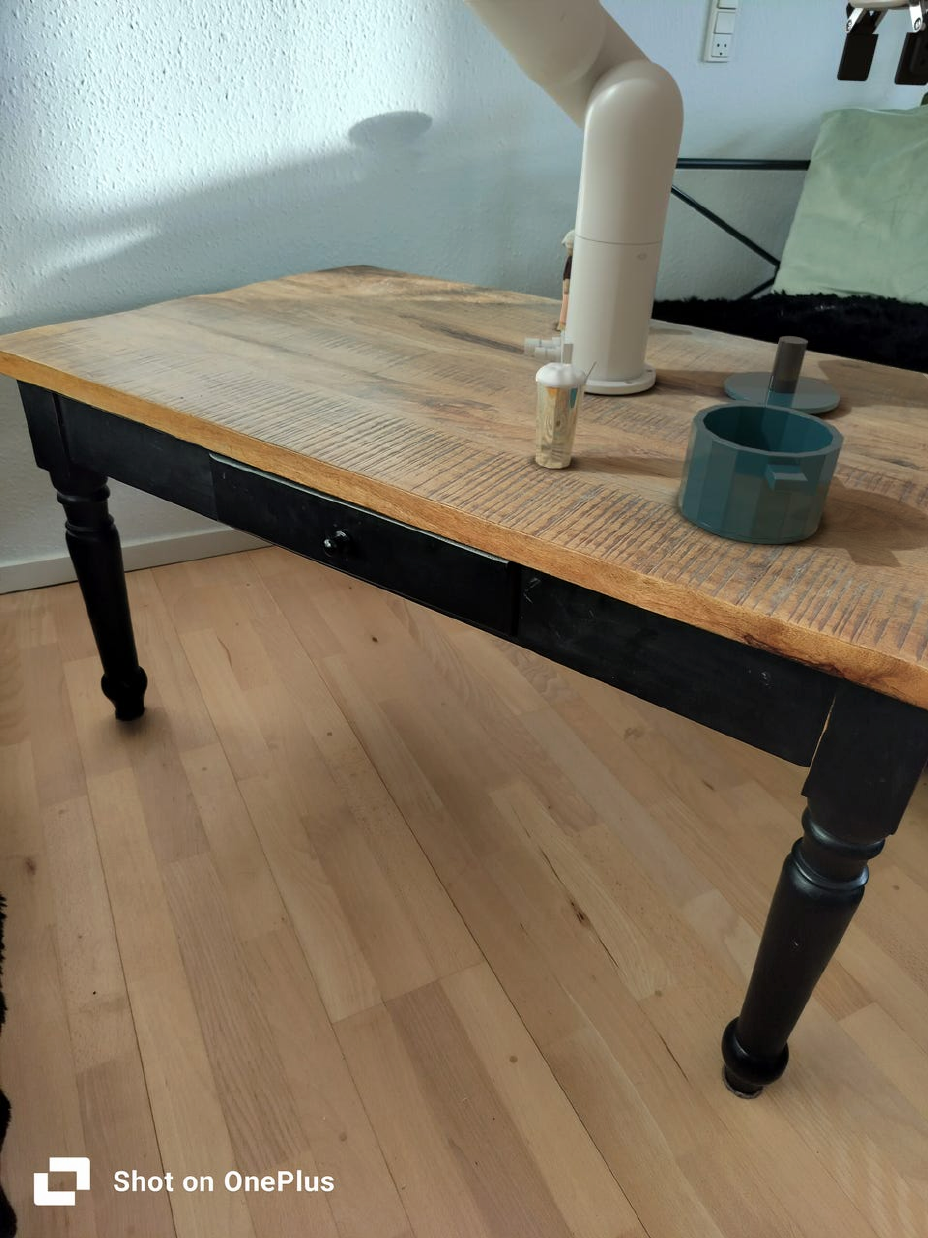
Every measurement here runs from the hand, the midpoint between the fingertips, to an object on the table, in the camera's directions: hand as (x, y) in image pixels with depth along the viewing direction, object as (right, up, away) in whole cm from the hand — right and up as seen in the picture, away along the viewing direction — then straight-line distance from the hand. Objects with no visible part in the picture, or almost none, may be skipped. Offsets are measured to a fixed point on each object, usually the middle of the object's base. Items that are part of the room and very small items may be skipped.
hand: (879, 82), depth 84 cm
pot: (-16, -43, -10) cm, 47 cm away
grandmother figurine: (-26, -11, +37) cm, 47 cm away
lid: (-4, -26, +14) cm, 30 cm away
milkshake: (-32, -38, -3) cm, 49 cm away
